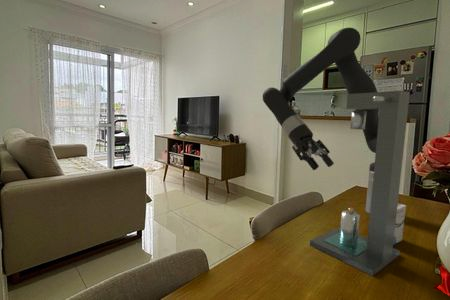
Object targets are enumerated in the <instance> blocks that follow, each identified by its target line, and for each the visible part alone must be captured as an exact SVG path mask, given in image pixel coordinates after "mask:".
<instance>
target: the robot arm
mask: <svg viewBox="0 0 450 300" xmlns="http://www.w3.org/2000/svg"><path fill="white" fill-rule="evenodd" d="M360 44H361V34H360V31H358V30H357V29H356V28H355V27H354V28H353V27H344V28H341V29H339V30H338V31H336V32H335V33H333V34H332V35H331V36H330V37H329V38H328V40H327V45H326V46H325V47H324V48H323V49H322V50H321V51H319V52H318V53H317V54H316V55H315V56H312V58H310V59H308V60H307V61H306V62H304V63H303V64H302V65H300V66H299V67H298V68H295V70H294V71H293V72H291V73H290V74H289V75H288V76H286V77H284V79H283V81H282V86H281V88H280V89H278V88H276V87H267V88H266V89H264V91H263V93H262V101H263V103H264V104H265V106H266V107H267V108H268V109H269V110H270V112H271V113H272V114H273V116H274V117H275V119H276V121H277V122H278V124H279V125H280V126H281V128H282V129H283V131H284V134H286V136H287V137H288V139H289V140H290V141H291V143H292V144H293V145H292V147H291V148H292V149H293V150H292V151H294V154H295V155H296V156H297V157H298V159H299V160H300V161H301V162H302V161H304V162H306V163H307V164H308V165H309V166H310V168H311V169H312V171H316V170H318V168H319V167H320V165H319V164H318V163H317V161H316V160H315V159H314V157H313V156H312V155H315V156H316V157H317V156H318V157H320V158H321V159H322V161H323V162H324V163H325V165H326V166H327V167H328V168H330V167H332V166H333V165H334V164H335V163H334V161H333V160H332V158H331V157H330V156H329V154H330V153H331V152H330V150H329V148H328V147H327V146H326V145H325V143H323V141H321V139H317V141H316V140H314V139H313V137H314V132H312V131H311V129H310V127H308V125H307V124H306V123H305V121H304V120H303V119H302V118H301V117H300V116H299V115H298V114H297V112H296V111H295V110H294V109H293V108H292V106H291V105H289V102H290V101H291V100H292V98H294V96H295V95H296V93H298V92H299V91H301V90H302V89H303V88H304V87H306V86H307V85H308V84H309V83H311V81H313V80H314V79H315V78H317V77H318V75H320V74H321V73H323V72H324V71H325V70H327V68H329V67H331V66H332V65H333V64H335V67H336V68H337V69H338V71H339V74H340V76H341V79H342V82H343V84H344V88H345V89H346V92H347V94H358V93H373V92H378V89H377V87H376V84H375V83H374V80H373V79H372V78H371V76H370V75H369V74H368V73H367V71H366V70H364V68H363V67H362V65H361V64H360V62H359V60H358V58H357V56H356V53H355V51H356V50H357V49H358V48H359V46H360ZM354 111H366V122H365V129H362V133H363V134H364V135H363V136H364V138H365V142H366V145H367V147H368V149H369V151H371V152H372V153H374V154H376V144H377V133H378V122H379V112H380V109H354ZM374 165H375V161H374V162H371V163H370V164H369V166H368V167H369V168H368V169H369V170H368V181H367V182H368V183H367V191H366V200H365V201H366V202H365V212H366V213H367V214H369V215H370V208H371V197H372V186H373V176H374Z"/></svg>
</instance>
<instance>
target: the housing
mask: <svg viewBox="0 0 450 300" xmlns="http://www.w3.org/2000/svg"><path fill="white" fill-rule="evenodd" d="M354 209H355V208H354V207H348V209H347V210H346V209H344V210H342V211H341V217H340V236H339V241H340V242H341V243H342V244H344V245H347V246H356V245H357V239H358V235H359V228H360V227H359V226H360V220H361V219H360V218H361V214H360V213H359V212H357V211H354Z"/></svg>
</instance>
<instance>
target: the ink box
mask: <svg viewBox="0 0 450 300" xmlns="http://www.w3.org/2000/svg"><path fill="white" fill-rule="evenodd" d="M406 209H407V205H405V204H401V203H399V202H398V205H397V215H396V224H395V233H394V242H393V246H394V245H396V244H397V243H400V242H402V240H403V235H404V234H403V232H404V225H405V217H406Z"/></svg>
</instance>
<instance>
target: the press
mask: <svg viewBox="0 0 450 300" xmlns="http://www.w3.org/2000/svg"><path fill="white" fill-rule="evenodd" d="M346 96H347V97H346V107H345V108H346V110H351V116H350V117H351V118H350V130H363V129H365V122H366V111H355V109H379V112H378V118H379V122H378V133H377V144H376V153H374V155H375V156H374V162H375V165H374V176H373V186H372V197H371V208H370V214H369V221H368V231H367V237H366V236H363V235H360V234H358V239H357V245H356V246H347V245H344V244H342V243H341V242H340V241H339V236H340V227H339V226H338V227H336V228H333V229H331V230H330V231H327V232H326V233H323V234H320V235H318V236H317V237H314V238H312V239H310V240H309V245H310V246H311V247H313V248H315V249H318V250H319V251H321V252H324V254H325V253H326V254H328V255H329V256H332V257H333V258H335V259H337V260H339V261H342V262H344V263H346V264H347V265H350V266H351V267H354V268H355V269H357V270H359V271H362V272H364V273H366V274H367V275H369V276H371V277H373V276H375V275H376V274H377V273H379V272H380V271H381V270H382V269H383V268H385V267H386V266H387V265H389V264H390V263H391V262H392V261H394V260H395V259H397V258H398V257H399V256H400V249H397V248H395V247H394V245H393V242H394V233H395V224H396V215H397V205H398V203H399V194H400V188H401V187H400V186H401V178H402V168H403V167H402V166H403V158H404V148H405V139H406V132H407V121H408V115H409V114H408V113H409V103H410V97H411V93H410V91H405V90H392V91H377V92H373V93H358V94H348V93H347V95H346Z"/></svg>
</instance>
